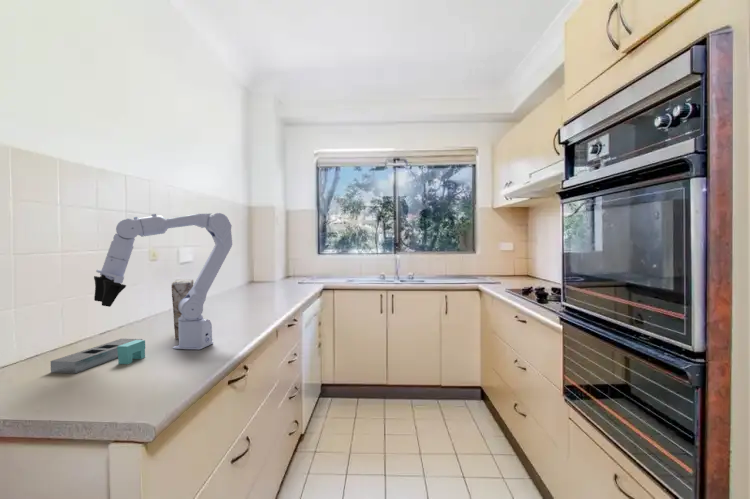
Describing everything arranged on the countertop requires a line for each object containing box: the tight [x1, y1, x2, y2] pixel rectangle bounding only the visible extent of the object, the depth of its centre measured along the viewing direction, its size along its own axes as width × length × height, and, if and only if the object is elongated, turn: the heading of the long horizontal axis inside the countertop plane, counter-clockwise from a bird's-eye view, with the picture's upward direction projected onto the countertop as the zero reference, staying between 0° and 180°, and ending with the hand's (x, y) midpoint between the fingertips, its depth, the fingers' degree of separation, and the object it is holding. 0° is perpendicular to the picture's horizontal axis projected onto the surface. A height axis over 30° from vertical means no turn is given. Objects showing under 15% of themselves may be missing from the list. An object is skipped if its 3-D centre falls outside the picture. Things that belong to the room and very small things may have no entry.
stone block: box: [171, 278, 194, 340], centre depth 145 cm, size 13×7×20 cm, turn 25°
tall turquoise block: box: [117, 339, 146, 365], centre depth 115 cm, size 7×3×5 cm, turn 171°
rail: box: [50, 338, 143, 374], centre depth 116 cm, size 7×24×3 cm, turn 171°
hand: (102, 303), depth 117 cm, fingers open, 7 cm apart
